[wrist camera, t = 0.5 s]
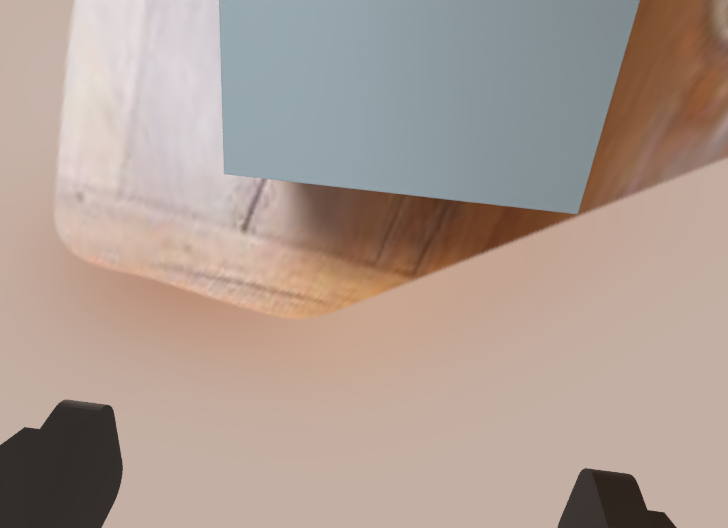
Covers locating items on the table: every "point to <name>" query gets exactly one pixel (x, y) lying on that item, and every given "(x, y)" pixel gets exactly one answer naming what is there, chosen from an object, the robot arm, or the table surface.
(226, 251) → the table surface
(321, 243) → the table surface
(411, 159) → the plinth shelf
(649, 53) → the table surface
